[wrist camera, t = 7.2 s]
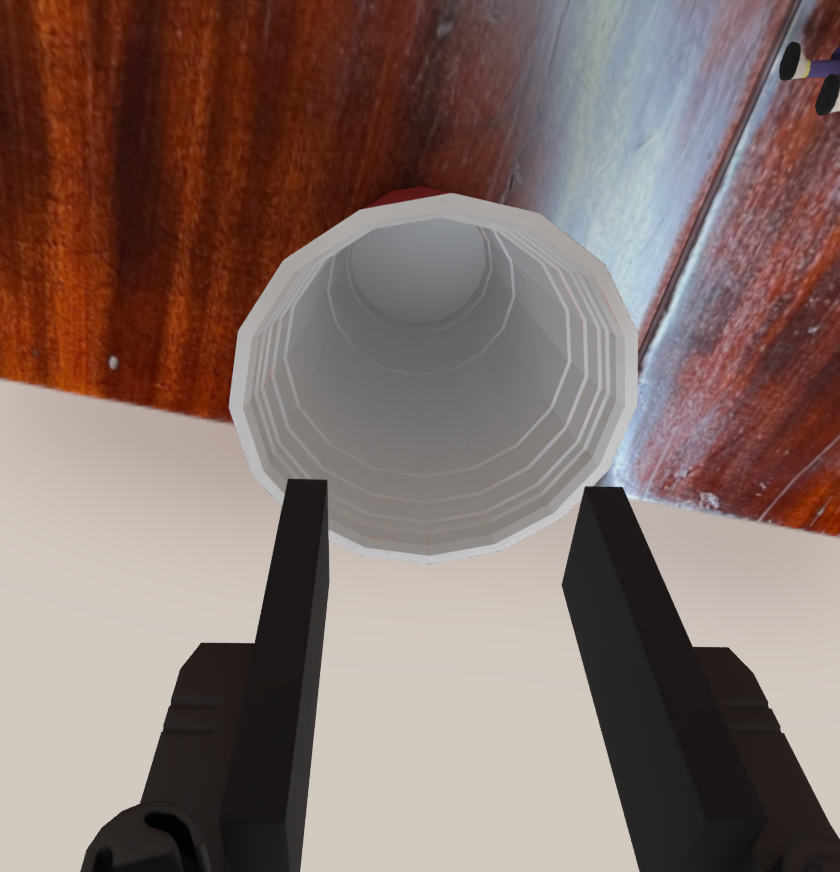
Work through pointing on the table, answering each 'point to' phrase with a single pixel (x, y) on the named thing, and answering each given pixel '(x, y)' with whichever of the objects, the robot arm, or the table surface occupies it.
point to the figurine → (814, 75)
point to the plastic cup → (436, 375)
